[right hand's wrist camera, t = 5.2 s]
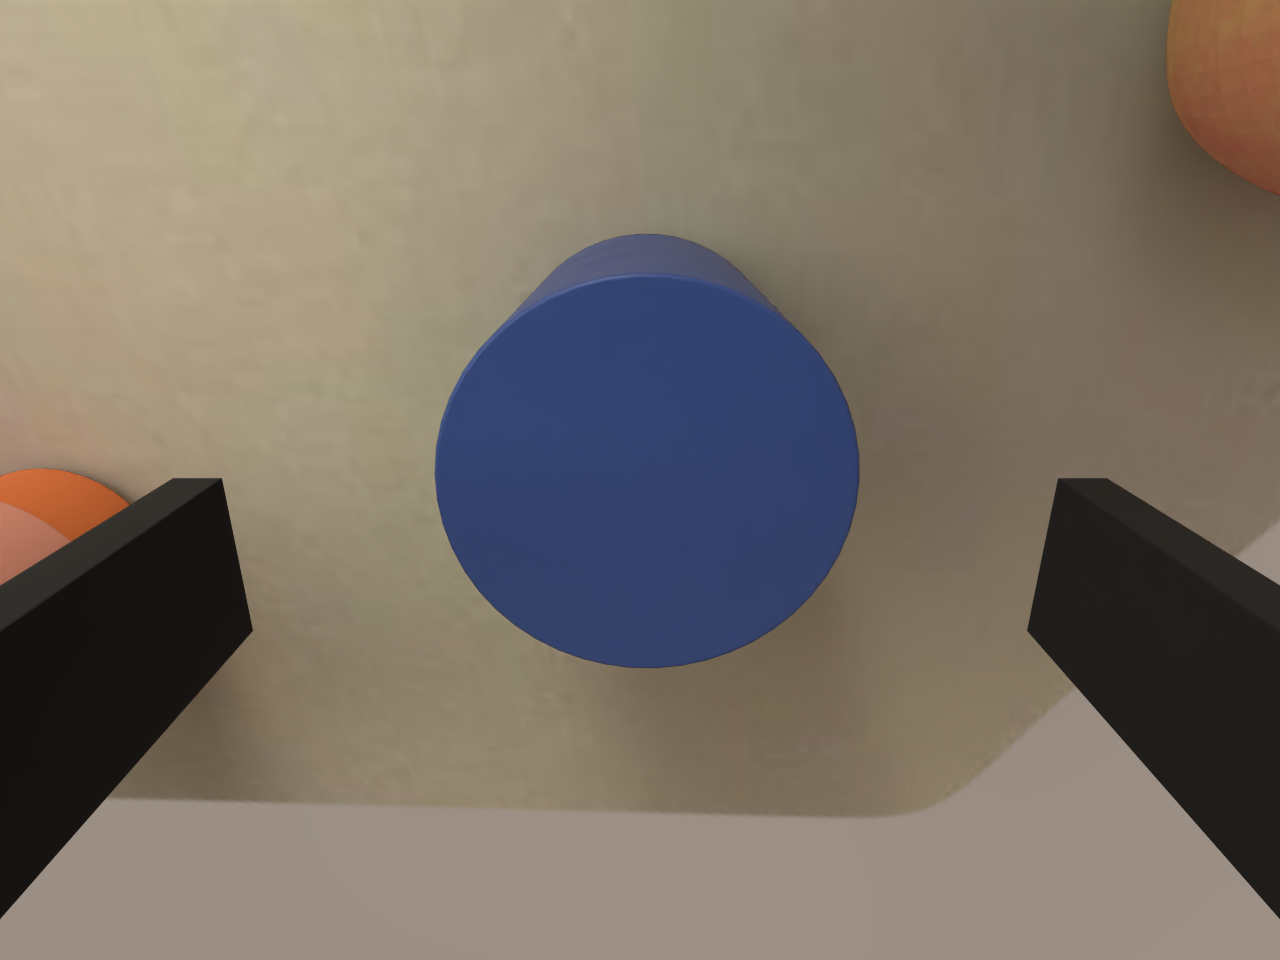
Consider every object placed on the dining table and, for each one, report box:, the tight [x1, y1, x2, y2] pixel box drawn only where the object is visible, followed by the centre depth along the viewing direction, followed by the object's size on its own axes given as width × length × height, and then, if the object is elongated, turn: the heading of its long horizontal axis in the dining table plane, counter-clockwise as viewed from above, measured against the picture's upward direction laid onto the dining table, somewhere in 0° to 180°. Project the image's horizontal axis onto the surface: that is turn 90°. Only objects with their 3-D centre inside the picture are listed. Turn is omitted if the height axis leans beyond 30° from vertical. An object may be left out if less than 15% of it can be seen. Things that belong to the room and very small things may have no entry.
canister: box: [435, 234, 859, 668], centre depth 18 cm, size 8×8×9 cm
